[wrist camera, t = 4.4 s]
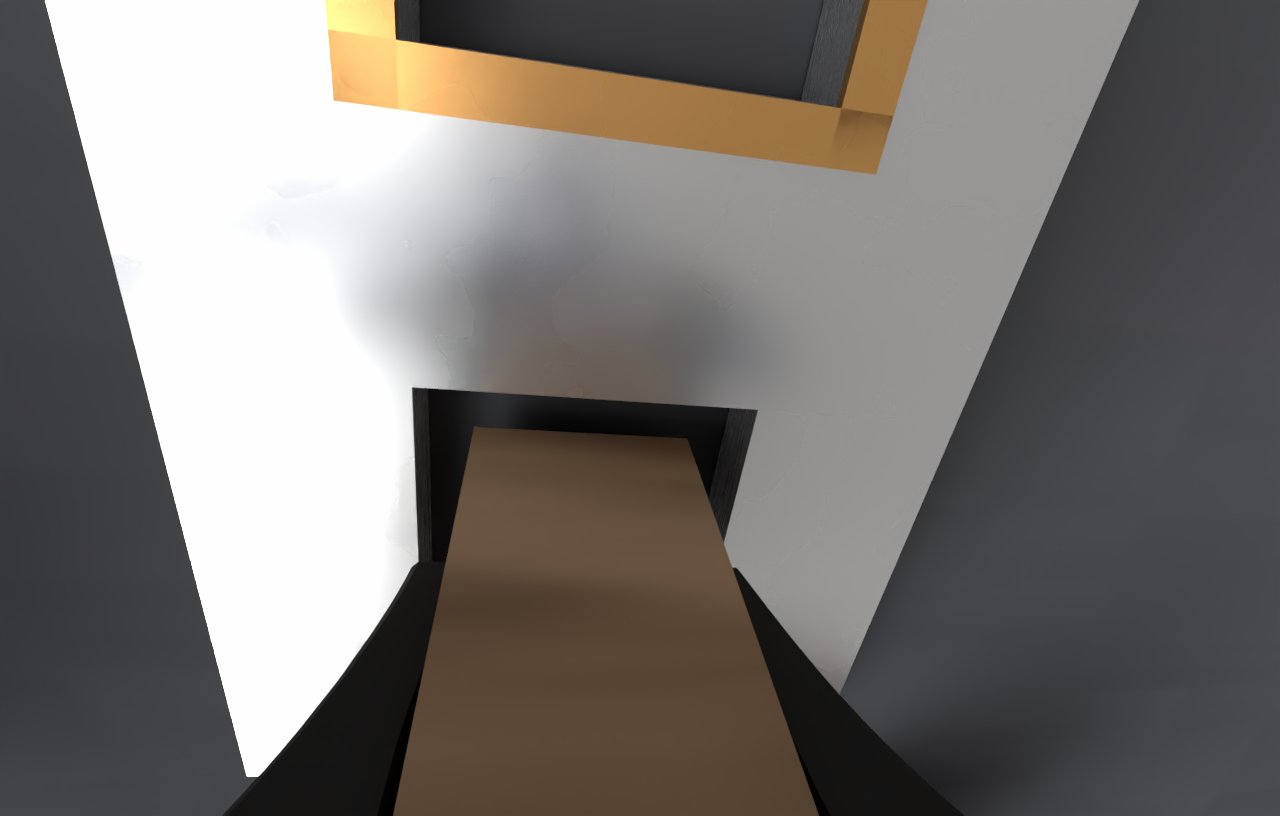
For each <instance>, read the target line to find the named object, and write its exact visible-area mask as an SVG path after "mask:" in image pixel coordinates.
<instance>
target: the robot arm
mask: <svg viewBox="0 0 1280 816" xmlns="http://www.w3.org/2000/svg"><path fill="white" fill-rule="evenodd" d="M445 564H446V562H421V561H419V562H418V563H416V564H415V565H414V566H412V567H411V569H410V571H409V573H408V575H407V577H406V579H405V580H404V582H403V584H402V586H401V587H400V589H399V591H398V593H397V594H396V596H395V598H394V599H393V601H392V602H391V604H390V606H389V607H388V609H387V610H386V612H385V613H384V615H383V617H382V618H381V620H380V621H379V623H378V624H377V626H376V627H375V629H374V630H373V632H372V633H371V635H370V636H369V637H368V639H367V640H366V642H365V643H364V644H363V646H362V647H361V649H360V650H359V652H358V653H357V654H356V656H355V657H354V659H353V660H352V661H351V663H350V664H349V666H348V667H347V668H346V670H345V671H344V673H343V674H342V675H341V677H340V678H339V679H338V681H337V682H336V683H335V685H334V686H333V687H332V688H331V690H330V691H329V692H328V693H327V695H326V696H325V697H324V698H323V700H322V701H321V702H320V704H319V705H318V706H317V707H316V709H315V710H314V711H313V712H312V714H311V715H310V716H309V717H308V719H307V720H306V721H305V722H304V724H303V725H302V726H301V728H300V729H299V730H298V731H297V732H296V734H295V735H294V736H293V737H292V738H291V740H290V741H289V742H288V743H287V744H286V745H285V747H284V748H283V749H282V750H281V751H280V753H279V754H278V755H277V756H276V757H275V758H274V759H273V761H272V762H271V763H270V764H269V765H268V766H267V767H266V769H265V770H264V771H263V772H262V773H261V774H260V775H259V776H258V777H257V779H256V780H255V781H254V782H253V783H252V784H251V785H250V786H249V787H248V789H247V790H246V791H245V792H244V793H243V794H242V795H241V796H240V797H239V798H238V800H237V801H236V802H235V803H234V804H233V805H232V806H231V807H230V808H229V809H228V810H227V811H226V812H225V813H224V814H223V815H222V816H393V813H394V809H395V804H396V799H397V794H398V789H399V785H400V780H401V775H402V770H403V765H404V761H405V756H406V751H407V746H408V741H409V737H410V732H411V727H412V722H413V717H414V713H415V708H416V703H417V698H418V693H419V689H420V684H421V679H422V674H423V669H424V665H425V660H426V655H427V650H428V645H429V641H430V636H431V631H432V626H433V621H434V617H435V612H436V607H437V602H438V597H439V593H440V588H441V583H442V578H443V573H444V569H445ZM733 571H734V574H735V577H736V580H737V583H738V585H739V588H740V591H741V594H742V597H743V600H744V603H745V605H746V608H747V611H748V614H749V617H750V620H751V623H752V626H753V628H754V631H755V634H756V637H757V640H758V643H759V646H760V648H761V651H762V654H763V657H764V660H765V663H766V666H767V668H768V671H769V674H770V677H771V680H772V683H773V686H774V688H775V691H776V694H777V697H778V700H779V703H780V706H781V708H782V711H783V714H784V717H785V720H786V723H787V726H788V729H789V731H790V734H791V737H792V740H793V743H794V746H795V749H796V751H797V754H798V757H799V760H800V763H801V766H802V769H803V771H804V774H805V777H806V780H807V783H808V786H809V789H810V791H811V794H812V797H813V800H814V803H815V806H816V809H817V812H818V814H819V816H964V815H963V814H962V813H960V812H959V811H958V810H957V809H956V808H955V807H953V806H952V805H951V804H950V803H949V802H948V801H946V800H945V799H944V798H943V797H942V796H941V795H940V794H939V793H938V792H936V791H935V790H934V789H933V788H932V787H931V786H930V785H929V784H928V783H926V782H925V781H924V780H923V779H922V778H921V777H920V776H919V775H918V774H917V773H916V772H915V771H914V770H913V769H912V768H911V767H910V766H909V765H908V764H906V763H905V762H904V761H903V760H902V759H901V758H900V757H899V756H898V755H897V754H896V753H895V752H894V751H893V750H892V749H891V748H890V747H889V746H888V745H887V744H886V743H885V742H884V741H883V740H882V739H881V738H880V737H879V736H878V735H877V734H876V733H875V732H874V731H873V730H872V729H871V728H870V727H869V726H868V725H867V724H866V723H865V722H864V721H863V720H862V719H861V717H860V716H859V715H858V714H857V713H856V712H855V711H854V710H853V709H852V708H851V707H850V705H849V704H848V703H847V702H846V701H845V700H844V699H843V698H842V697H841V696H840V695H839V693H838V692H837V691H836V690H835V689H834V688H833V687H832V685H831V684H830V683H829V682H828V681H827V680H826V679H825V677H824V676H823V675H822V674H821V673H820V671H819V670H818V669H817V668H816V667H815V665H814V664H813V663H812V662H811V661H810V660H809V658H808V657H807V656H806V655H805V654H804V652H803V651H802V650H801V649H800V648H799V646H798V645H797V644H796V643H795V641H794V640H793V639H792V638H791V636H790V635H789V634H788V633H787V631H786V630H785V629H784V628H783V626H782V625H781V624H780V623H779V621H778V620H777V619H776V617H775V616H774V615H773V614H772V612H771V611H770V610H769V608H768V607H767V606H766V605H765V603H764V602H763V601H762V599H761V598H760V597H759V595H758V594H757V593H756V592H755V590H754V589H753V588H752V586H751V585H750V584H749V582H748V581H747V580H746V579H745V577H744V576H743V575H742V573H741V572H740V571H739V570H738V569H737V568H733Z"/></svg>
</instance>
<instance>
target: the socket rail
mask: <svg viewBox="0 0 1280 816" xmlns="http://www.w3.org/2000/svg"><path fill="white" fill-rule="evenodd" d="M45 2H46V6H47V10H48V14H49V17H50V21H51V25H52V29H53V33H54V37H55V40H56V44H57V48H58V52H59V56H60V60H61V64H62V67H63V71H64V75H65V79H66V83H67V87H68V90H69V94H70V98H71V102H72V106H73V110H74V114H75V117H76V121H77V125H78V129H79V133H80V137H81V140H82V144H83V148H84V152H85V156H86V160H87V164H88V167H89V171H90V175H91V179H92V183H93V187H94V190H95V194H96V198H97V202H98V206H99V210H100V214H101V217H102V221H103V225H104V229H105V233H106V237H107V240H108V244H109V248H110V252H111V256H112V260H113V264H114V267H115V271H116V275H117V279H118V283H119V287H120V290H121V294H122V298H123V302H124V306H125V310H126V314H127V317H128V321H129V325H130V329H131V333H132V337H133V340H134V344H135V348H136V352H137V356H138V360H139V364H140V367H141V371H142V375H143V379H144V383H145V387H146V390H147V394H148V398H149V402H150V406H151V410H152V414H153V417H154V421H155V425H156V429H157V433H158V437H159V440H160V444H161V448H162V452H163V456H164V460H165V464H166V467H167V471H168V475H169V479H170V483H171V487H172V490H173V494H174V498H175V502H176V506H177V510H178V514H179V517H180V521H181V525H182V529H183V533H184V537H185V540H186V544H187V548H188V552H189V556H190V560H191V564H192V567H193V571H194V575H195V579H196V583H197V587H198V590H199V594H200V598H201V602H202V606H203V610H204V614H205V617H206V621H207V625H208V629H209V633H210V637H211V640H212V644H213V648H214V652H215V656H216V660H217V664H218V667H219V671H220V675H221V679H222V683H223V687H224V690H225V694H226V698H227V702H228V706H229V710H230V714H231V717H232V721H233V725H234V729H235V733H236V737H237V740H238V744H239V748H240V752H241V756H242V760H243V764H244V767H245V771H246V775H247V777H251V776H259V775H260V774H261V773H262V772H263V771H264V770H265V769H266V767H267V766H268V765H269V764H270V763H271V762H272V761H273V759H274V758H275V757H276V756H277V755H278V754H279V753H280V751H281V750H282V749H283V748H284V747H285V745H286V744H287V743H288V742H289V741H290V740H291V738H292V737H293V736H294V735H295V734H296V732H297V731H298V730H299V729H300V728H301V726H302V725H303V724H304V722H305V721H306V720H307V719H308V717H309V716H310V715H311V714H312V712H313V711H314V710H315V709H316V707H317V706H318V705H319V704H320V702H321V701H322V700H323V698H324V697H325V696H326V695H327V693H328V692H329V691H330V690H331V688H332V687H333V686H334V685H335V683H336V682H337V681H338V679H339V678H340V677H341V675H342V674H343V673H344V671H345V670H346V668H347V667H348V666H349V664H350V663H351V661H352V660H353V659H354V657H355V656H356V654H357V653H358V652H359V650H360V649H361V647H362V646H363V644H364V643H365V642H366V640H367V639H368V637H369V636H370V635H371V633H372V632H373V630H374V629H375V627H376V626H377V624H378V623H379V621H380V620H381V618H382V617H383V615H384V613H385V612H386V610H387V609H388V607H389V606H390V604H391V602H392V601H393V599H394V598H395V596H396V594H397V593H398V591H399V589H400V587H401V586H402V584H403V582H404V580H405V579H406V577H407V575H408V573H409V571H410V569H411V567H412V566H414V565H415V564H416V563H418V562H419V561H421V562H433V561H432V518H431V475H430V432H429V389H428V388H432V389H447V390H463V391H478V392H493V393H509V394H524V395H539V396H555V397H570V398H585V399H601V400H616V401H631V402H647V403H662V404H677V405H693V406H708V407H723V408H729V411H728V416H727V420H726V424H725V429H724V433H723V437H722V442H721V446H720V450H719V454H718V459H717V463H716V467H715V472H714V476H713V480H712V485H711V489H710V493H709V497H708V500H709V502H710V505H711V508H712V511H713V514H714V517H715V520H716V522H717V525H718V528H719V531H720V534H721V537H722V540H723V543H724V545H725V548H726V551H727V554H728V557H729V560H730V563H731V565H732V568H737V569H738V570H739V571H740V572H741V573H742V575H743V576H744V577H745V579H746V580H747V581H748V582H749V584H750V585H751V586H752V588H753V589H754V590H755V592H756V593H757V594H758V595H759V597H760V598H761V599H762V601H763V602H764V603H765V605H766V606H767V607H768V608H769V610H770V611H771V612H772V614H773V615H774V616H775V617H776V619H777V620H778V621H779V623H780V624H781V625H782V626H783V628H784V629H785V630H786V631H787V633H788V634H789V635H790V636H791V638H792V639H793V640H794V641H795V643H796V644H797V645H798V646H799V648H800V649H801V650H802V651H803V652H804V654H805V655H806V656H807V657H808V658H809V660H810V661H811V662H812V663H813V664H814V665H815V667H816V668H817V669H818V670H819V671H820V673H821V674H822V675H823V676H824V677H825V679H826V680H827V681H828V682H829V683H830V684H831V685H832V687H833V688H834V689H835V690H836V691H837V692H838V693H839V694H840V692H841V690H842V687H843V685H844V683H845V681H846V678H847V676H848V674H849V671H850V669H851V667H852V664H853V662H854V660H855V657H856V655H857V653H858V650H859V648H860V646H861V643H862V641H863V639H864V637H865V634H866V632H867V630H868V627H869V625H870V623H871V620H872V618H873V616H874V613H875V611H876V609H877V606H878V604H879V602H880V599H881V597H882V595H883V593H884V590H885V588H886V586H887V583H888V581H889V579H890V576H891V574H892V572H893V569H894V567H895V565H896V562H897V560H898V558H899V555H900V553H901V551H902V549H903V546H904V544H905V542H906V539H907V537H908V535H909V532H910V530H911V528H912V525H913V523H914V521H915V518H916V516H917V514H918V511H919V509H920V507H921V505H922V502H923V500H924V498H925V495H926V493H927V491H928V488H929V486H930V484H931V481H932V479H933V477H934V474H935V472H936V470H937V467H938V465H939V463H940V461H941V458H942V456H943V454H944V451H945V449H946V447H947V444H948V442H949V440H950V437H951V435H952V433H953V430H954V428H955V426H956V423H957V421H958V419H959V416H960V414H961V412H962V410H963V407H964V405H965V403H966V400H967V398H968V396H969V393H970V391H971V389H972V386H973V384H974V382H975V379H976V377H977V375H978V372H979V370H980V368H981V366H982V363H983V361H984V359H985V356H986V354H987V352H988V349H989V347H990V345H991V342H992V340H993V338H994V335H995V333H996V331H997V328H998V326H999V324H1000V322H1001V319H1002V317H1003V315H1004V312H1005V310H1006V308H1007V305H1008V303H1009V301H1010V298H1011V296H1012V294H1013V291H1014V289H1015V287H1016V284H1017V282H1018V280H1019V278H1020V275H1021V273H1022V271H1023V268H1024V266H1025V264H1026V261H1027V259H1028V257H1029V254H1030V252H1031V250H1032V247H1033V245H1034V243H1035V240H1036V238H1037V236H1038V234H1039V231H1040V229H1041V227H1042V224H1043V222H1044V220H1045V217H1046V215H1047V213H1048V210H1049V208H1050V206H1051V203H1052V201H1053V199H1054V196H1055V194H1056V192H1057V190H1058V187H1059V185H1060V183H1061V180H1062V178H1063V176H1064V173H1065V171H1066V169H1067V166H1068V164H1069V162H1070V159H1071V157H1072V155H1073V152H1074V150H1075V148H1076V146H1077V143H1078V141H1079V139H1080V136H1081V134H1082V132H1083V129H1084V127H1085V125H1086V122H1087V120H1088V118H1089V115H1090V113H1091V111H1092V108H1093V106H1094V104H1095V102H1096V99H1097V97H1098V95H1099V92H1100V90H1101V88H1102V85H1103V83H1104V81H1105V78H1106V76H1107V74H1108V71H1109V69H1110V67H1111V64H1112V62H1113V60H1114V58H1115V55H1116V53H1117V51H1118V48H1119V46H1120V44H1121V41H1122V39H1123V37H1124V34H1125V32H1126V30H1127V27H1128V25H1129V23H1130V20H1131V18H1132V16H1133V14H1134V11H1135V9H1136V7H1137V4H1138V2H1139V0H824V3H823V7H822V12H821V16H820V20H819V25H818V29H817V33H816V37H815V42H814V46H813V50H812V55H811V59H810V63H809V68H808V72H807V76H806V80H805V85H804V89H803V93H802V98H801V100H795V99H788V98H782V97H775V96H769V95H762V94H756V93H749V92H743V91H736V90H730V89H723V88H717V87H710V86H704V85H697V84H691V83H684V82H678V81H671V80H665V79H658V78H652V77H645V76H639V75H632V74H626V73H619V72H613V71H606V70H600V69H594V68H587V67H581V66H574V65H568V64H561V63H555V62H548V61H542V60H535V59H529V58H522V57H516V56H509V55H503V54H496V53H490V52H483V51H477V50H470V49H464V48H457V47H451V46H444V45H438V44H431V43H425V42H420V3H419V0H45Z"/></svg>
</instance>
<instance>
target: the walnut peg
mask: <svg viewBox="0 0 1280 816" xmlns="http://www.w3.org/2000/svg"><path fill="white" fill-rule="evenodd" d="M393 816H819V814H818V812H817V809H816V806H815V803H814V800H813V797H812V794H811V791H810V789H809V786H808V783H807V780H806V777H805V774H804V771H803V769H802V766H801V763H800V760H799V757H798V754H797V751H796V749H795V746H794V743H793V740H792V737H791V734H790V731H789V729H788V726H787V723H786V720H785V717H784V714H783V711H782V708H781V706H780V703H779V700H778V697H777V694H776V691H775V688H774V686H773V683H772V680H771V677H770V674H769V671H768V668H767V666H766V663H765V660H764V657H763V654H762V651H761V648H760V646H759V643H758V640H757V637H756V634H755V631H754V628H753V626H752V623H751V620H750V617H749V614H748V611H747V608H746V605H745V603H744V600H743V597H742V594H741V591H740V588H739V585H738V583H737V580H736V577H735V574H734V571H733V568H732V565H731V563H730V560H729V557H728V554H727V551H726V548H725V545H724V543H723V540H722V537H721V534H720V531H719V528H718V525H717V522H716V520H715V517H714V514H713V511H712V508H711V505H710V502H709V500H708V497H707V494H706V491H705V488H704V485H703V482H702V480H701V477H700V474H699V471H698V468H697V465H696V462H695V460H694V457H693V454H692V451H691V448H690V445H689V442H688V440H687V439H686V438H668V437H649V436H631V435H613V434H595V433H577V432H559V431H540V430H522V429H504V428H486V427H474V430H473V434H472V439H471V444H470V449H469V454H468V458H467V463H466V468H465V473H464V478H463V482H462V487H461V492H460V497H459V502H458V506H457V511H456V516H455V521H454V526H453V530H452V535H451V540H450V545H449V549H448V554H447V559H446V564H445V569H444V573H443V578H442V583H441V588H440V593H439V597H438V602H437V607H436V612H435V617H434V621H433V626H432V631H431V636H430V641H429V645H428V650H427V655H426V660H425V665H424V669H423V674H422V679H421V684H420V689H419V693H418V698H417V703H416V708H415V713H414V717H413V722H412V727H411V732H410V737H409V741H408V746H407V751H406V756H405V761H404V765H403V770H402V775H401V780H400V785H399V789H398V794H397V799H396V804H395V809H394V813H393Z"/></svg>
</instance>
